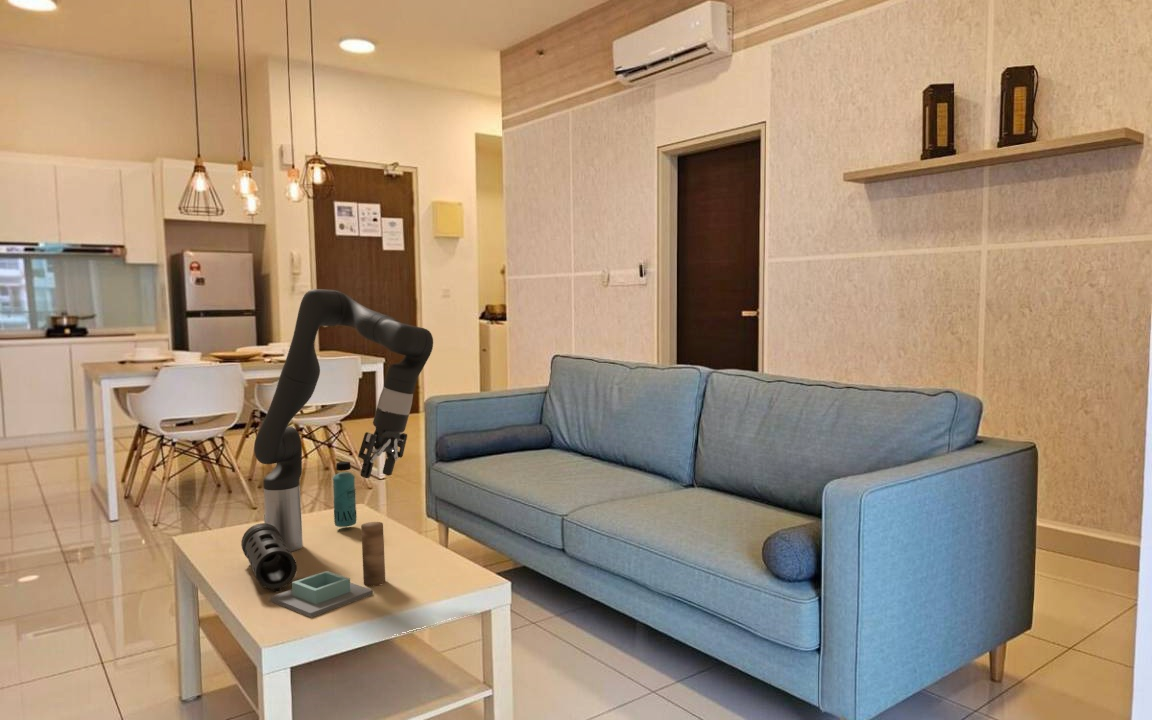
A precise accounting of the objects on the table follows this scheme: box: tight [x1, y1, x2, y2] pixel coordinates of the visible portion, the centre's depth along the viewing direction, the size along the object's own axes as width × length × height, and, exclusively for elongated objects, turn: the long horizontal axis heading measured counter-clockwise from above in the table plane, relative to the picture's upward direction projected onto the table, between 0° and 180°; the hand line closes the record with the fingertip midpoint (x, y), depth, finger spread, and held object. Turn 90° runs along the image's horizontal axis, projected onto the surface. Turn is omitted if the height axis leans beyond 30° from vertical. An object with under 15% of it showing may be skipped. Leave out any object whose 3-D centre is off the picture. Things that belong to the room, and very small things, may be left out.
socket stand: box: [269, 570, 374, 619], centre depth 175 cm, size 16×16×4 cm
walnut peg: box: [360, 521, 386, 587], centre depth 184 cm, size 5×5×14 cm
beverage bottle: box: [332, 461, 358, 528], centre depth 229 cm, size 6×7×20 cm
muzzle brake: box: [240, 523, 298, 593], centre depth 191 cm, size 10×28×10 cm, turn 29°
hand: (375, 475), depth 181 cm, fingers open, 8 cm apart
